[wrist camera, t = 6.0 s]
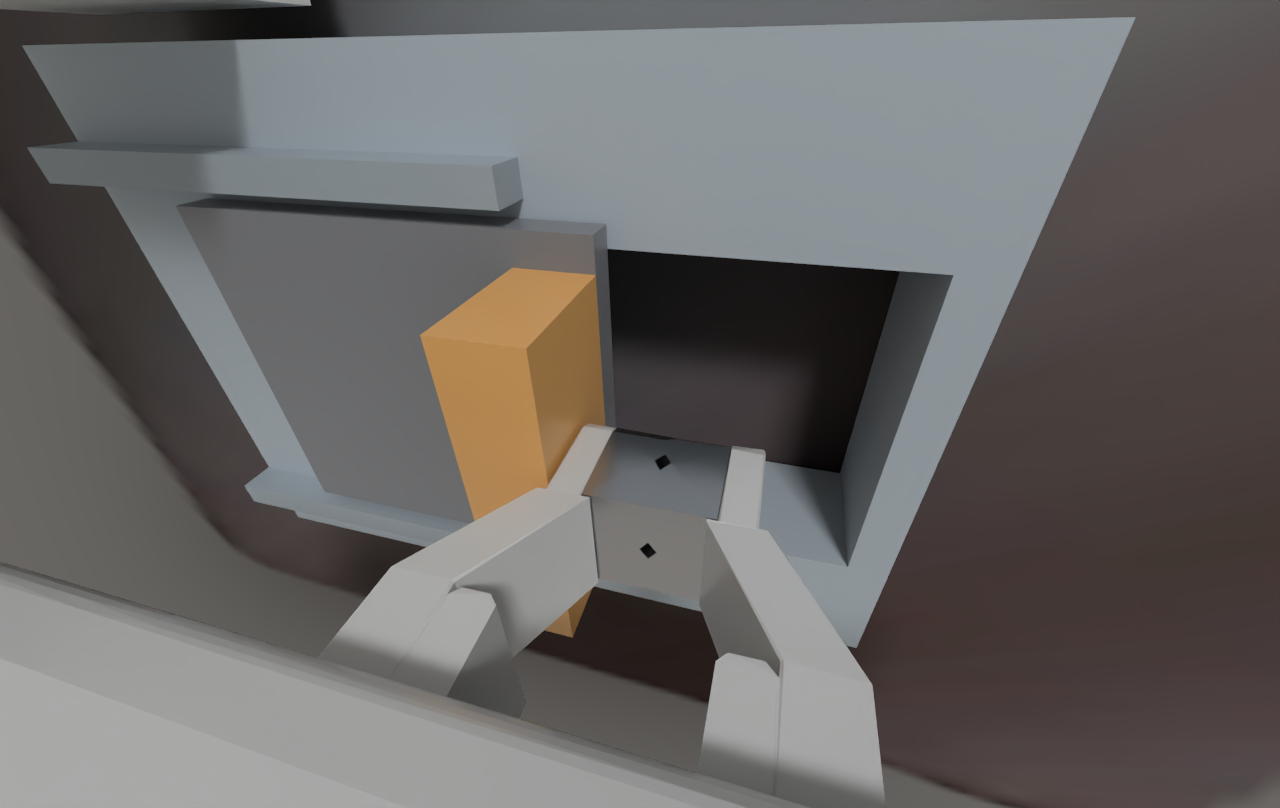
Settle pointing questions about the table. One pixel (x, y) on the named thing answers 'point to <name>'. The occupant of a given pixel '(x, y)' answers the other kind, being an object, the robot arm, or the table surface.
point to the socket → (630, 199)
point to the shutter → (421, 345)
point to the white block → (141, 5)
